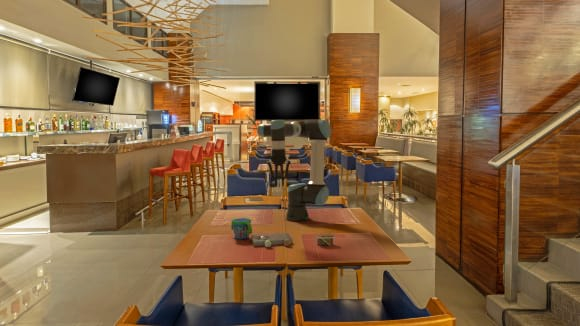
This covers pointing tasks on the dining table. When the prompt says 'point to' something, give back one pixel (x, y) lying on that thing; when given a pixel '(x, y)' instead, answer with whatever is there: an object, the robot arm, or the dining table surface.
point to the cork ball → (287, 242)
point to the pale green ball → (267, 243)
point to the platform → (325, 239)
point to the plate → (270, 239)
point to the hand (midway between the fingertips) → (279, 191)
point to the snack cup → (241, 228)
